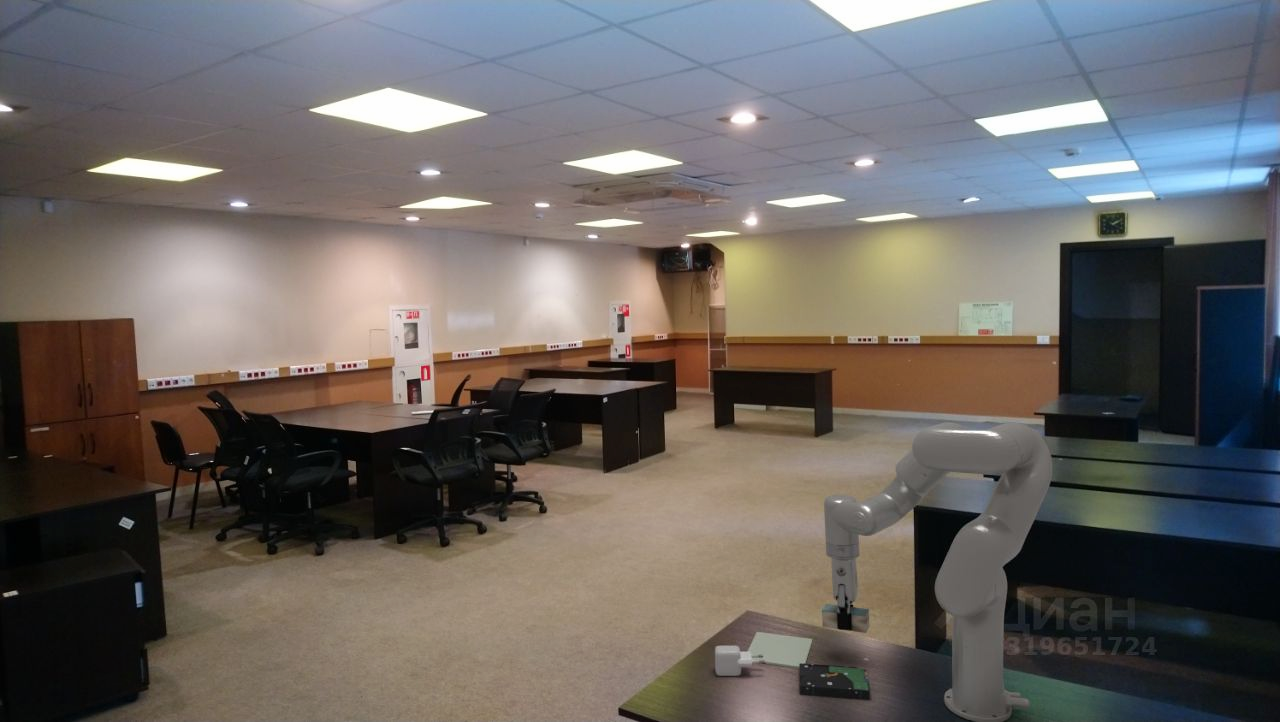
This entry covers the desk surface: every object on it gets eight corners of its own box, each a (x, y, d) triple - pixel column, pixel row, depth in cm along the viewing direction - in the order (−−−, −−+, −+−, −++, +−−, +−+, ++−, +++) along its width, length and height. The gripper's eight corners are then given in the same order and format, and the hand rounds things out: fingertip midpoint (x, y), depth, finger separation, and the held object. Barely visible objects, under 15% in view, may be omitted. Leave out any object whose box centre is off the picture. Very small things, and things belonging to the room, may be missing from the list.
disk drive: (799, 698, 156) (871, 702, 153) (799, 685, 156) (871, 689, 153) (798, 674, 166) (866, 678, 163) (798, 662, 166) (865, 666, 163)
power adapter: (763, 667, 169) (762, 643, 168) (765, 678, 164) (764, 653, 163) (714, 667, 169) (714, 643, 169) (715, 678, 165) (715, 653, 164)
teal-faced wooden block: (869, 626, 170) (868, 609, 170) (866, 633, 166) (865, 615, 166) (826, 620, 175) (825, 603, 174) (822, 626, 171) (821, 609, 171)
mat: (812, 641, 181) (812, 639, 181) (803, 669, 167) (803, 667, 167) (757, 634, 186) (756, 631, 186) (744, 660, 172) (744, 658, 172)
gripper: (856, 561, 160) (859, 642, 161) (861, 539, 176) (864, 612, 177) (821, 559, 163) (825, 638, 164) (830, 537, 179) (833, 610, 180)
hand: (845, 624), depth 170 cm, fingers closed on teal-faced wooden block, 4 cm apart
